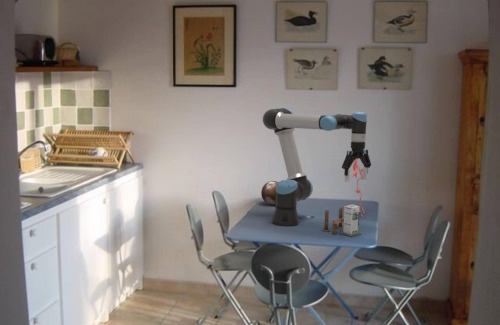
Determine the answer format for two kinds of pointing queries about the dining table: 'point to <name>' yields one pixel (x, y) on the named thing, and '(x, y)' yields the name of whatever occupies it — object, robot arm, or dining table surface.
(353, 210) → the syrup box
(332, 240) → the dining table surface
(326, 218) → the wooden frame
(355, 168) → the figurine
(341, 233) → the pad
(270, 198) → the wooden sphere
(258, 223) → the dining table surface
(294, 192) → the robot arm
